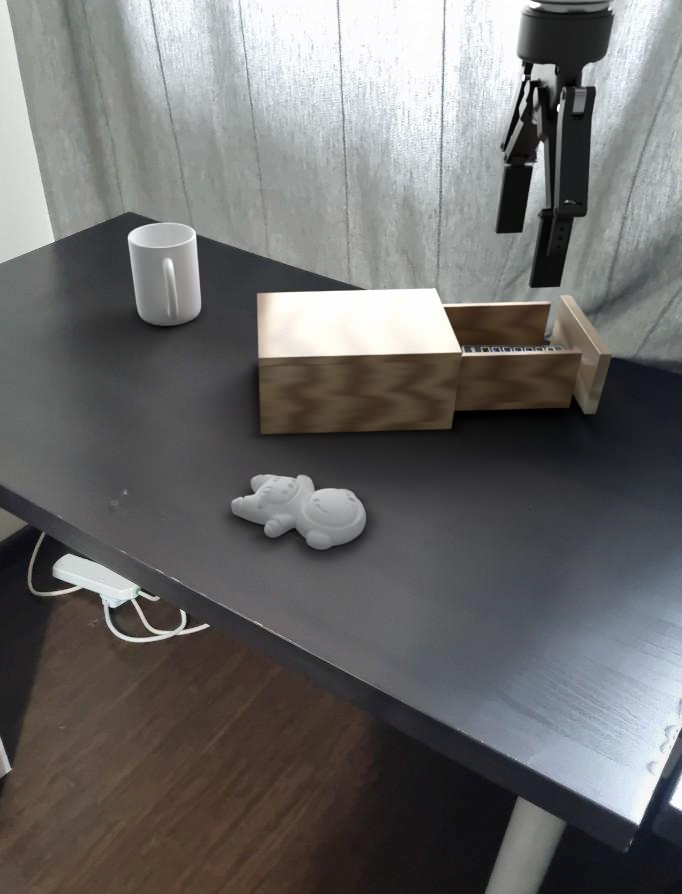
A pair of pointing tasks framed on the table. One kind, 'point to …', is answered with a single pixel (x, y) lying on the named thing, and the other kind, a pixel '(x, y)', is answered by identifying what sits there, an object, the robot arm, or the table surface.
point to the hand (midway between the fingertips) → (525, 257)
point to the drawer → (528, 357)
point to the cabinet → (356, 361)
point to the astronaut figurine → (302, 510)
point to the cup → (165, 273)
